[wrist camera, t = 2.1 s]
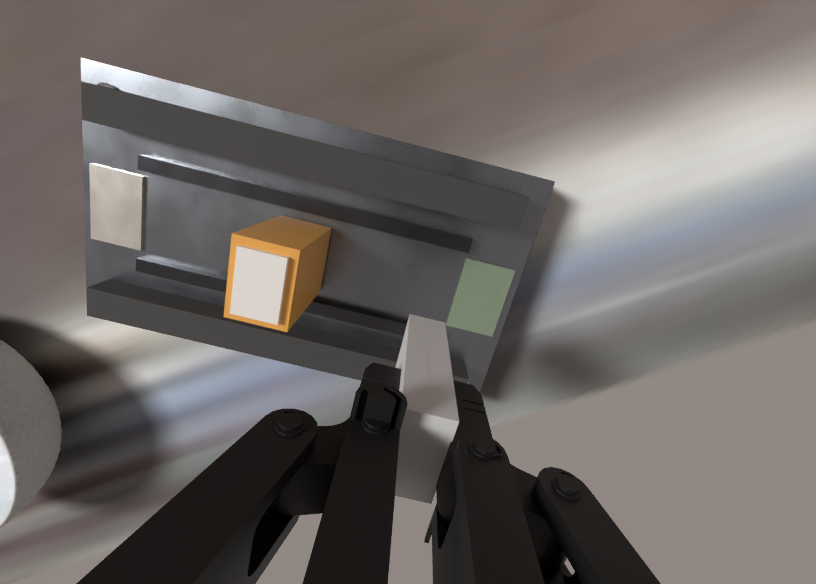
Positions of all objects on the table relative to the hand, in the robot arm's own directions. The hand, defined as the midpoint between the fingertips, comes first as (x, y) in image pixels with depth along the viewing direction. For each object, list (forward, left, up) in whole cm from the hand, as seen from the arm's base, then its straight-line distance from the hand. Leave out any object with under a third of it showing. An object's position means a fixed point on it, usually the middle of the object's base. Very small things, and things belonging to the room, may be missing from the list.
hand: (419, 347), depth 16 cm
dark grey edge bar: (+5, -7, -8) cm, 12 cm away
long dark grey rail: (-6, -7, -8) cm, 12 cm away
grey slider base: (0, -7, -11) cm, 13 cm away
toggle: (0, -7, -8) cm, 11 cm away
